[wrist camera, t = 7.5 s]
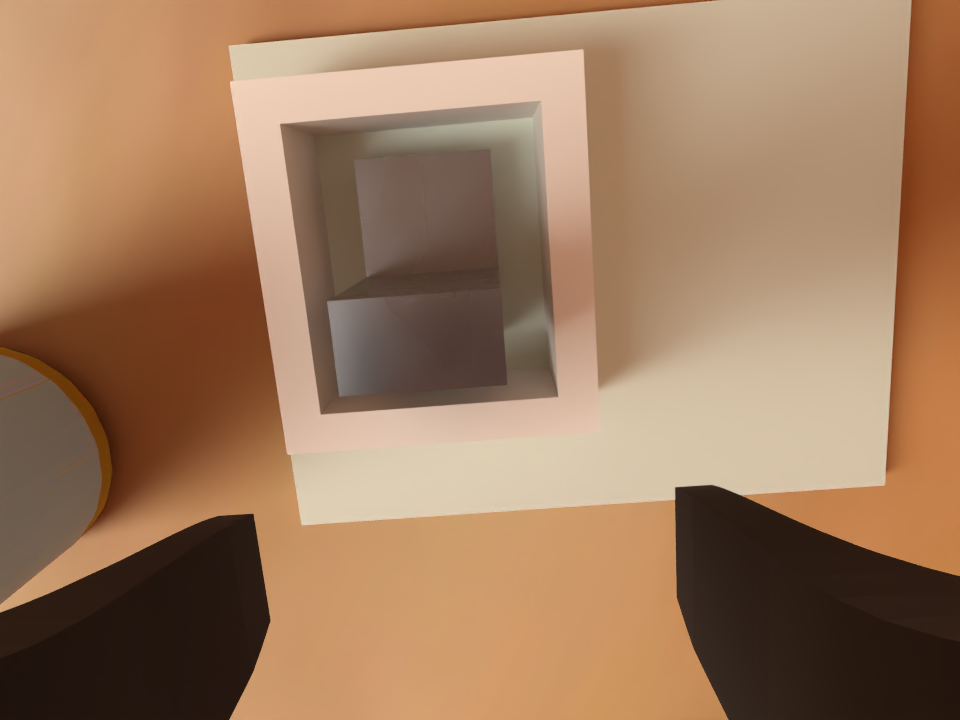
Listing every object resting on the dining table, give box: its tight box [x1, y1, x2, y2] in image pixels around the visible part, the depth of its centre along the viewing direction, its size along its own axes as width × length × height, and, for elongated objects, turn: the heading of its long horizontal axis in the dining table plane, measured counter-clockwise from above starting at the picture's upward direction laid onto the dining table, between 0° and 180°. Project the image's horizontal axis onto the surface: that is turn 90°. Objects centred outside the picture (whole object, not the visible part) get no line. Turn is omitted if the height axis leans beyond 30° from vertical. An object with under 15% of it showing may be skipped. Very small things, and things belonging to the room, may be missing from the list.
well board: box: [229, 0, 912, 525], centre depth 18 cm, size 14×18×4 cm
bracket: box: [327, 149, 507, 397], centre depth 17 cm, size 5×4×6 cm
